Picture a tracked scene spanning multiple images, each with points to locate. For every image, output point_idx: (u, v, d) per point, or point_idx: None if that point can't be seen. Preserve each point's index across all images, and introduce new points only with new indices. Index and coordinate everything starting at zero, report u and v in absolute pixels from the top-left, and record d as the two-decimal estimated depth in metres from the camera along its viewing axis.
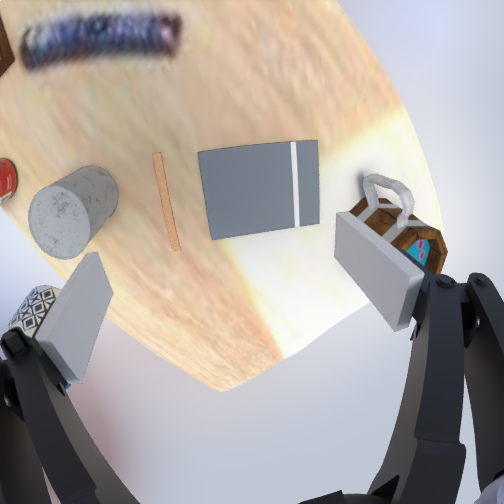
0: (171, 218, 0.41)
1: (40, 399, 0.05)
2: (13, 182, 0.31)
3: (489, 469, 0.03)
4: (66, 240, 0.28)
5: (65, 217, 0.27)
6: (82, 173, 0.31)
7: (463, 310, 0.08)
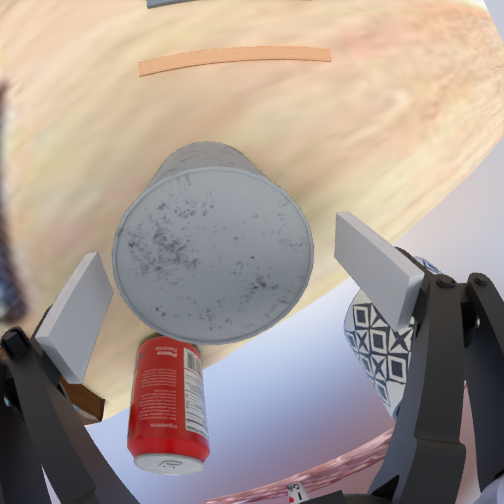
0: (267, 48, 0.18)
1: (40, 399, 0.05)
2: (170, 342, 0.28)
3: (489, 469, 0.03)
4: (262, 253, 0.13)
5: (198, 243, 0.12)
6: None
7: (463, 310, 0.08)
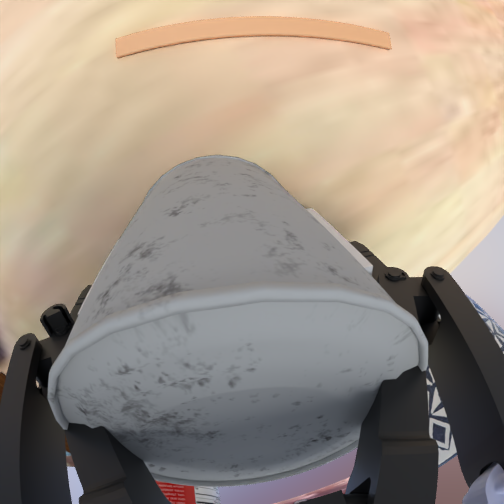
0: (308, 21, 0.11)
1: None
2: None
3: (473, 465, 0.03)
4: (338, 409, 0.06)
5: (217, 417, 0.05)
6: None
7: (416, 305, 0.09)
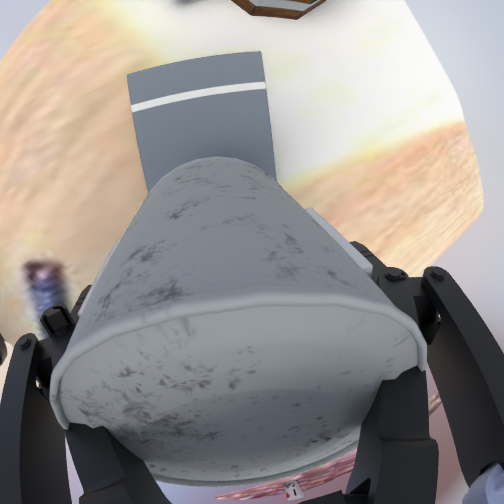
0: None
1: None
2: None
3: (473, 465, 0.03)
4: (337, 411, 0.06)
5: (218, 418, 0.05)
6: None
7: (416, 305, 0.09)
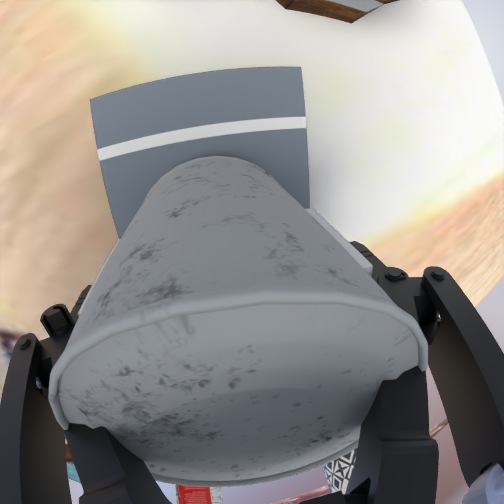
0: None
1: None
2: None
3: (473, 465, 0.03)
4: (338, 410, 0.06)
5: (217, 417, 0.05)
6: None
7: (416, 305, 0.09)
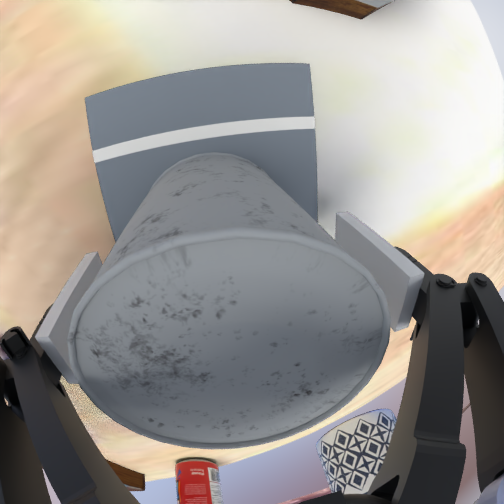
0: None
1: (40, 399, 0.05)
2: (199, 465, 0.35)
3: (490, 469, 0.03)
4: (313, 358, 0.07)
5: (208, 354, 0.07)
6: None
7: (463, 310, 0.08)
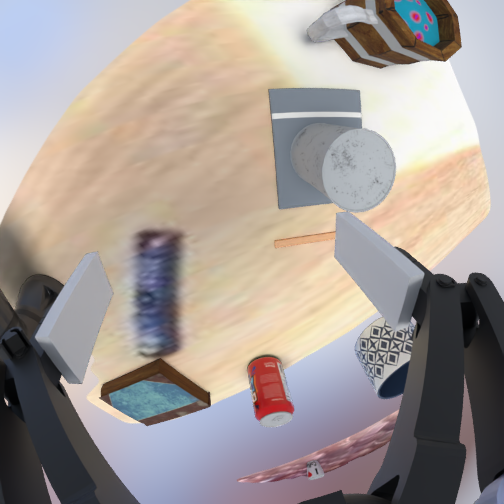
0: (334, 233, 0.45)
1: (40, 399, 0.05)
2: (270, 360, 0.55)
3: (490, 469, 0.03)
4: (378, 166, 0.27)
5: (357, 158, 0.27)
6: (303, 147, 0.32)
7: (462, 310, 0.08)
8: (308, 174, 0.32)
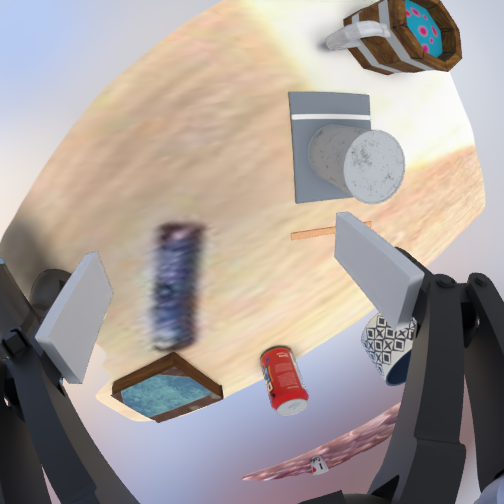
0: None
1: (40, 399, 0.05)
2: (283, 350, 0.58)
3: (489, 469, 0.03)
4: (390, 163, 0.30)
5: (372, 156, 0.30)
6: (322, 146, 0.35)
7: (463, 310, 0.08)
8: (327, 170, 0.35)
